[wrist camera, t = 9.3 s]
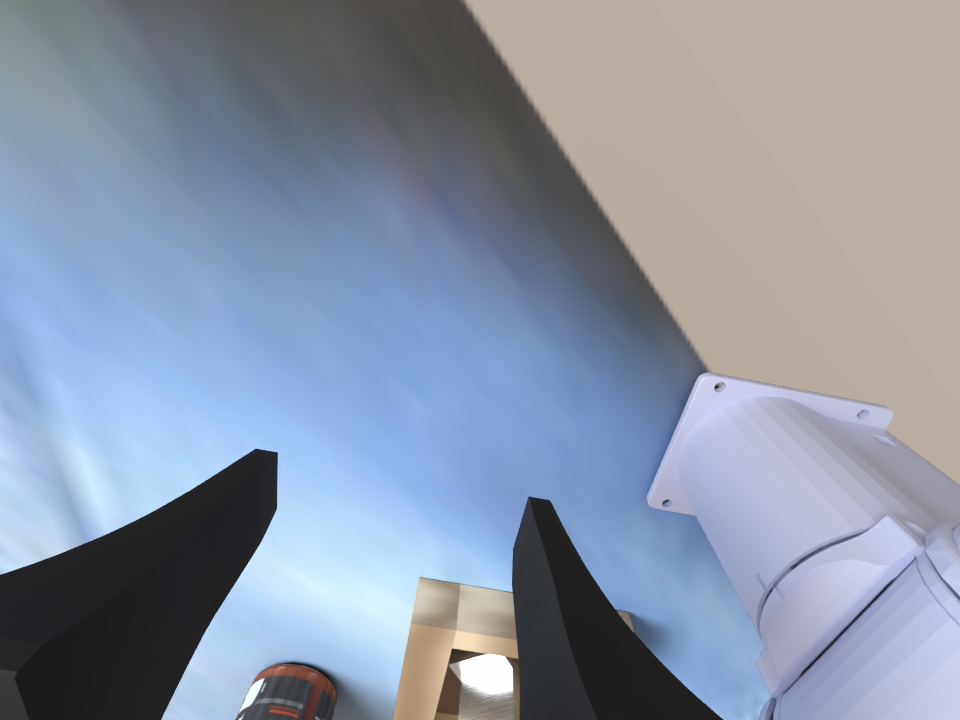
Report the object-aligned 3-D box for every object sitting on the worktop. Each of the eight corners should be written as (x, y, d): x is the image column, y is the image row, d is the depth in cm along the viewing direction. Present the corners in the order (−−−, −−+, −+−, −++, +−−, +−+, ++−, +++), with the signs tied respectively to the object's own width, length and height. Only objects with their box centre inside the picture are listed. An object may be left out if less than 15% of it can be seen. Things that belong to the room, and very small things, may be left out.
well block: (628, 612, 29) (642, 660, 26) (568, 740, 35) (574, 790, 32) (419, 577, 29) (411, 623, 26) (393, 713, 34) (384, 762, 32)
